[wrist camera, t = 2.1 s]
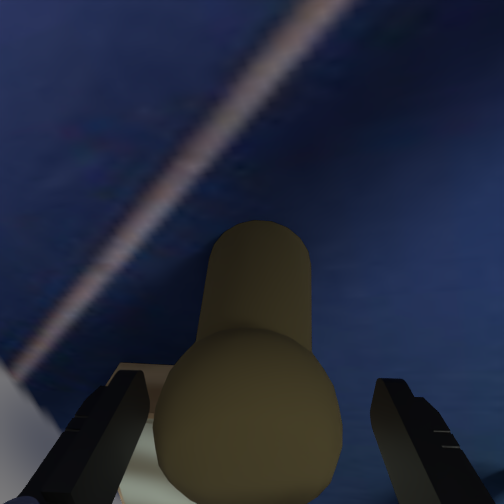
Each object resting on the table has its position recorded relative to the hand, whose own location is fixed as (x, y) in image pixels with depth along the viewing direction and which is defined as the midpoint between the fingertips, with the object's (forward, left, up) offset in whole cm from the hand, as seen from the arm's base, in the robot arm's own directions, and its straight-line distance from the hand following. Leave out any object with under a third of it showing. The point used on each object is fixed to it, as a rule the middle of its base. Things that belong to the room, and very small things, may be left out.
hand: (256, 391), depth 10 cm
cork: (-1, 0, -8) cm, 8 cm away
